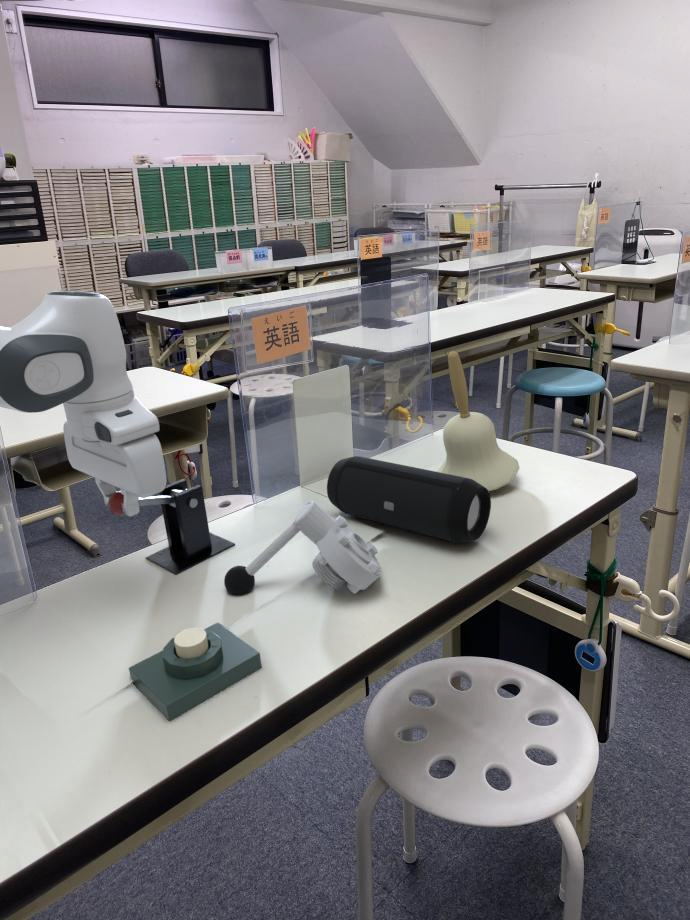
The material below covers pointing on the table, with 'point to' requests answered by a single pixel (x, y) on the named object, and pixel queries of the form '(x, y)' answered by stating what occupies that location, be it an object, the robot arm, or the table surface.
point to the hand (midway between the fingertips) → (122, 509)
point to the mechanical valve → (335, 562)
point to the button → (191, 643)
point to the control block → (194, 672)
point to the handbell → (473, 440)
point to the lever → (141, 501)
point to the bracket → (187, 531)
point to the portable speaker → (410, 498)
